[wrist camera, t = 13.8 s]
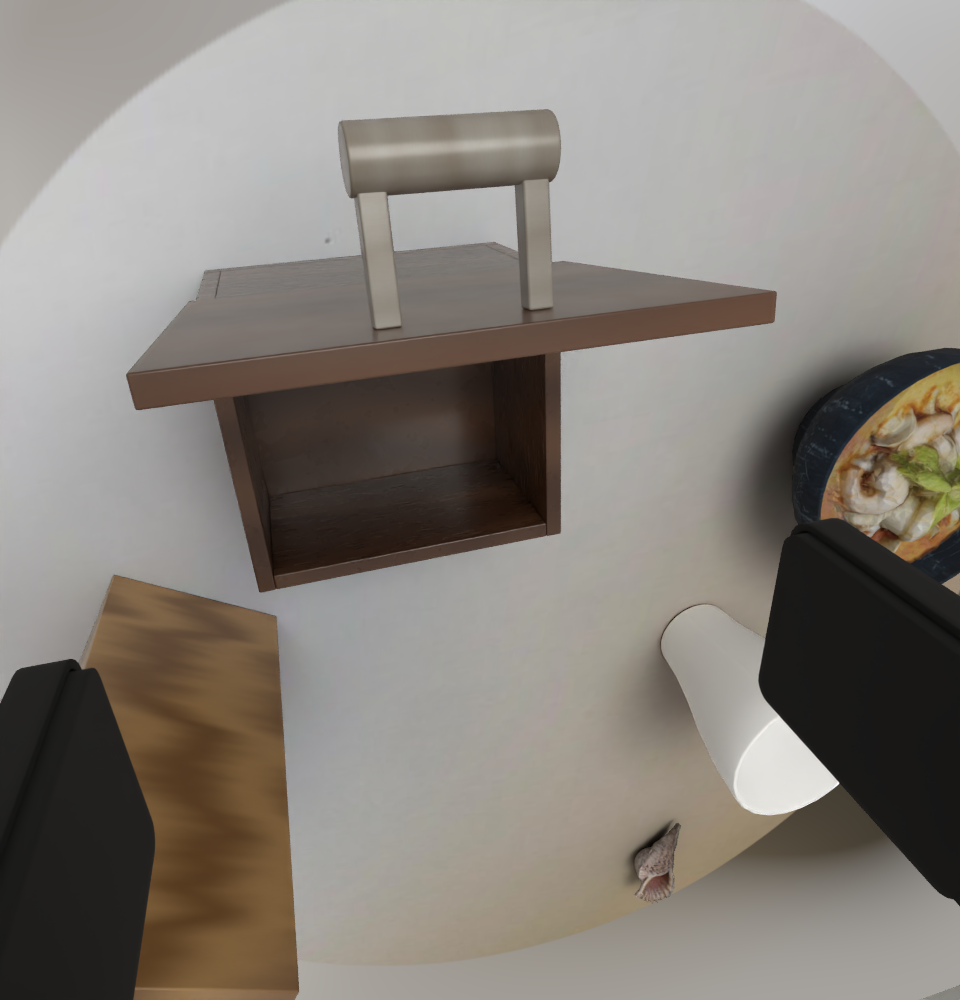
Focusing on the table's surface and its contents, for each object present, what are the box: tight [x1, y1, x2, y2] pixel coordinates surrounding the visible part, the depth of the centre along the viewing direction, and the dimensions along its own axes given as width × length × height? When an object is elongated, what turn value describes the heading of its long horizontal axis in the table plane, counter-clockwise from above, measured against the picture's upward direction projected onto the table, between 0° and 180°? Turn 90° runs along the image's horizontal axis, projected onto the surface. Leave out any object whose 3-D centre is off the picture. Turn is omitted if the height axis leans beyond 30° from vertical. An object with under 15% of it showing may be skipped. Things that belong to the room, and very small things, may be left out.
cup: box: [661, 605, 839, 815], centre depth 53 cm, size 10×10×14 cm
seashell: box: [634, 823, 681, 903], centre depth 68 cm, size 4×8×4 cm
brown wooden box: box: [196, 242, 561, 592], centre depth 37 cm, size 14×16×10 cm
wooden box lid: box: [126, 109, 777, 410], centre depth 22 cm, size 14×16×5 cm
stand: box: [79, 575, 299, 1000], centre depth 36 cm, size 10×10×24 cm
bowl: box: [792, 348, 960, 584], centre depth 49 cm, size 17×17×10 cm
